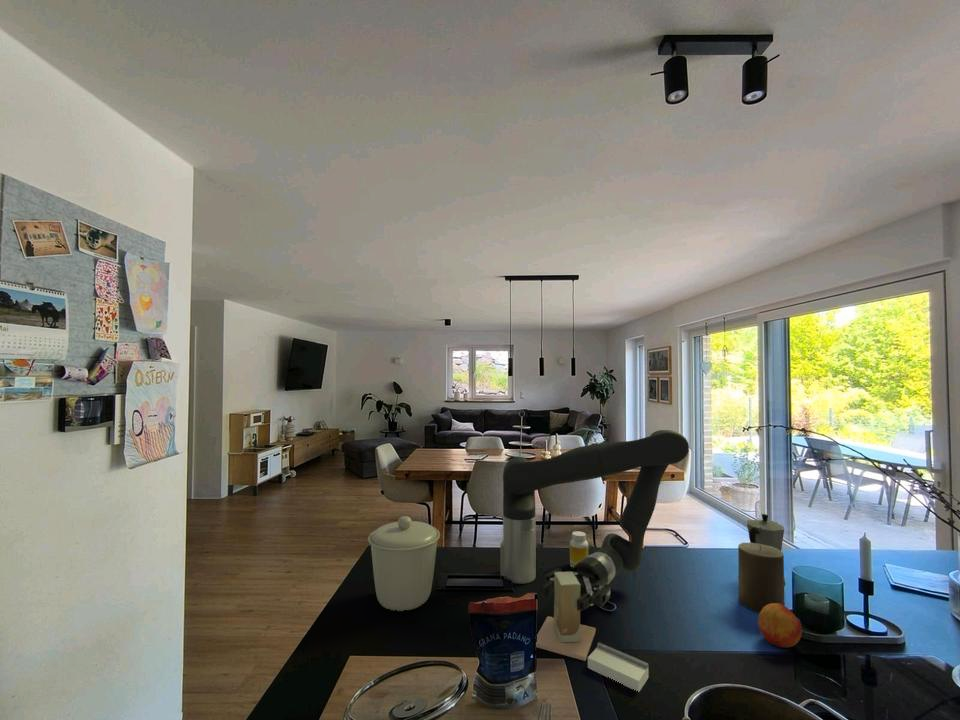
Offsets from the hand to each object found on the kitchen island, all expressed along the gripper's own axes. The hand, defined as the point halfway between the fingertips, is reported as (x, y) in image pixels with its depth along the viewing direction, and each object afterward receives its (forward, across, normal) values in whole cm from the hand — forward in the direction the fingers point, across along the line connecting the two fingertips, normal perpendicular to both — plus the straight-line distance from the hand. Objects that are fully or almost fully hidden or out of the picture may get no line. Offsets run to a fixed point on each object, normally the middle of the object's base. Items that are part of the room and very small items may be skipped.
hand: (560, 599), depth 92 cm
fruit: (-30, +36, +9) cm, 48 cm away
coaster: (-2, 0, +9) cm, 9 cm away
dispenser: (+1, +13, +9) cm, 16 cm away
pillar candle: (-46, +30, +9) cm, 56 cm away
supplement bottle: (-36, -14, +9) cm, 40 cm away
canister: (+11, -39, +9) cm, 42 cm away
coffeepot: (-62, +29, +9) cm, 69 cm away
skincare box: (-2, 0, +8) cm, 9 cm away
